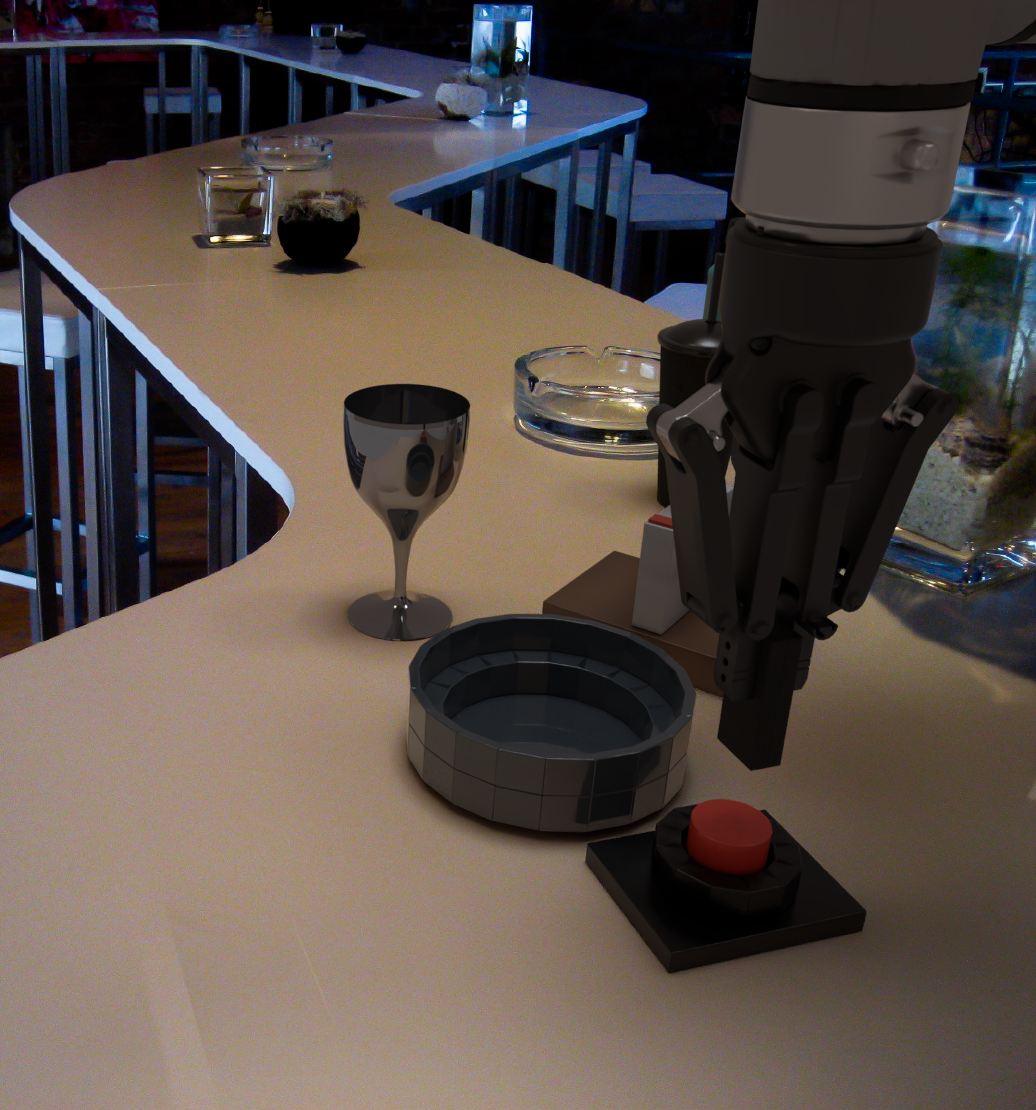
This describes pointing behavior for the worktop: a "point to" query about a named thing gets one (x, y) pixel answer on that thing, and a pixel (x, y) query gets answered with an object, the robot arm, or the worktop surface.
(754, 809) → the button
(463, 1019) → the worktop surface
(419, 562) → the worktop surface
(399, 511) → the wine glass
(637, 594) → the block
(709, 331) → the drinking cup
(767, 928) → the switch
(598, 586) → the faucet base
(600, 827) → the basin
